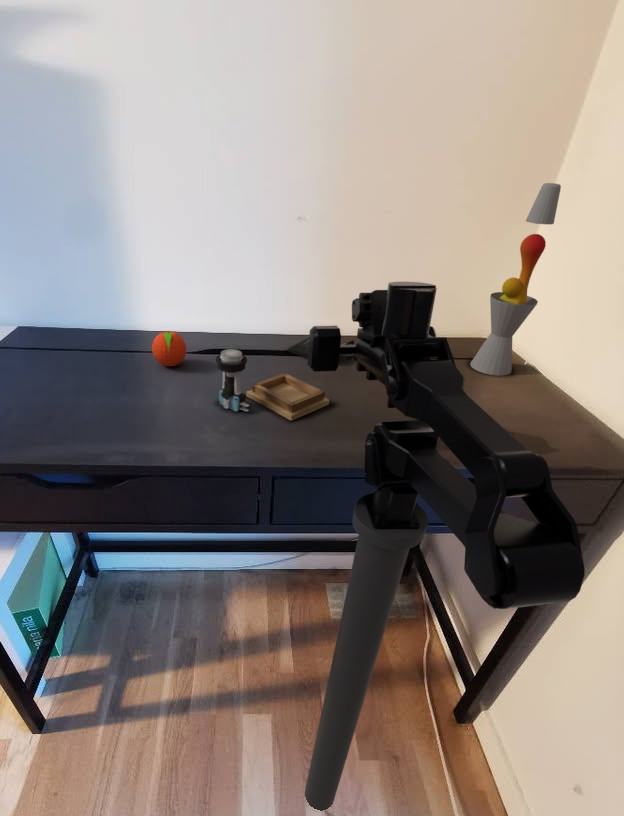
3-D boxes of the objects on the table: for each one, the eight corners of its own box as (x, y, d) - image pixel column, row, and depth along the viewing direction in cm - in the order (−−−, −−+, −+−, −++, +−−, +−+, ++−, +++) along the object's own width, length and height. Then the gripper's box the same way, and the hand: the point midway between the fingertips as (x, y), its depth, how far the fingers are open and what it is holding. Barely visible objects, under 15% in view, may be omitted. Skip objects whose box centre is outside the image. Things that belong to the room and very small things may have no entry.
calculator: (309, 340, 117) (310, 328, 115) (353, 353, 112) (355, 340, 110) (288, 351, 111) (289, 338, 109) (333, 365, 105) (334, 352, 104)
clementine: (188, 373, 99) (186, 339, 95) (153, 374, 98) (149, 339, 94) (186, 358, 105) (184, 325, 101) (153, 358, 104) (150, 325, 100)
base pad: (329, 404, 91) (331, 392, 89) (291, 421, 85) (292, 408, 83) (284, 382, 97) (285, 370, 96) (246, 396, 92) (246, 384, 90)
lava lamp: (493, 357, 113) (552, 181, 92) (521, 373, 106) (592, 186, 85) (461, 361, 110) (514, 180, 90) (487, 377, 104) (551, 186, 83)
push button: (257, 408, 88) (259, 355, 82) (236, 418, 85) (237, 364, 79) (231, 396, 91) (231, 344, 86) (210, 405, 88) (209, 352, 82)
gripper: (467, 298, 64) (415, 281, 77) (329, 299, 61) (300, 281, 74) (449, 381, 69) (403, 352, 83) (322, 385, 66) (296, 355, 80)
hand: (353, 334), depth 80 cm, fingers open, 9 cm apart
